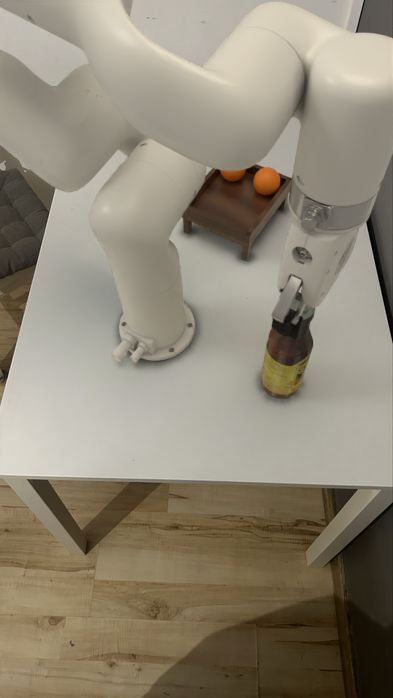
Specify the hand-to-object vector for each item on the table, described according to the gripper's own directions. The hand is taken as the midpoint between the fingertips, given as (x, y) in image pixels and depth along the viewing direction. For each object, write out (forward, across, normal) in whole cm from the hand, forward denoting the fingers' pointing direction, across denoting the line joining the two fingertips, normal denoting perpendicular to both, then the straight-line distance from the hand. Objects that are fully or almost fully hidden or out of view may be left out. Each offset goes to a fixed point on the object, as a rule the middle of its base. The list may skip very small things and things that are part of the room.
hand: (303, 302), depth 59 cm
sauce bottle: (+22, 0, 0) cm, 22 cm away
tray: (+22, +26, +23) cm, 41 cm away
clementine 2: (+17, +30, +20) cm, 40 cm away
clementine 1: (+16, +30, +27) cm, 44 cm away
